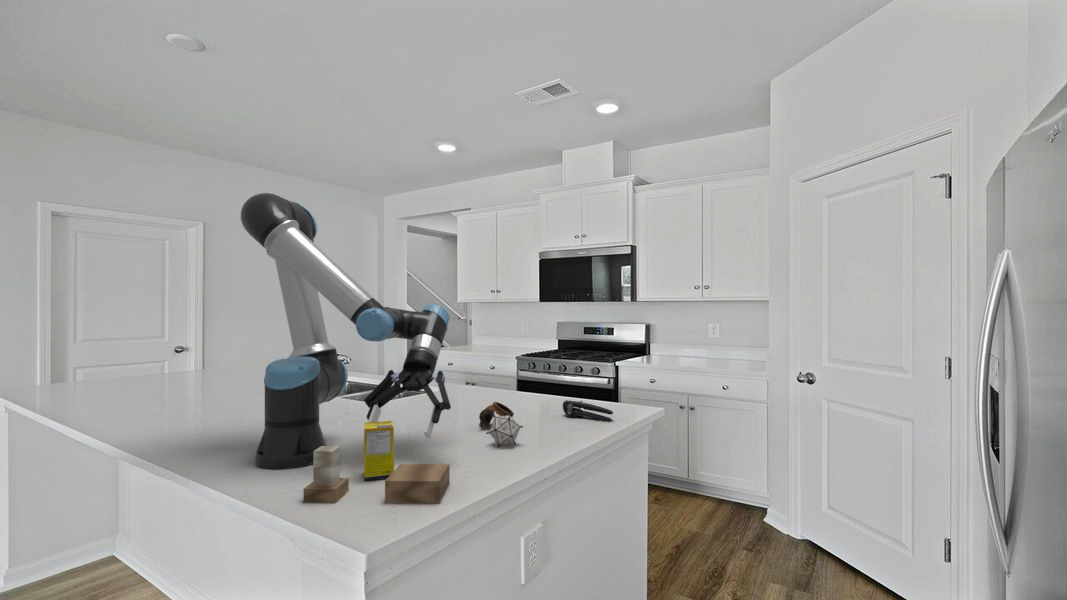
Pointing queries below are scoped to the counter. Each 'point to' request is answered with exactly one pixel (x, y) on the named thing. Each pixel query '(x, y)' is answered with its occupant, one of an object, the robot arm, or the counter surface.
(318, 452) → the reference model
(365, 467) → the supplement box
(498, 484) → the counter surface
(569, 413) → the can opener
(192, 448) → the counter surface
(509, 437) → the game die
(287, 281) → the robot arm
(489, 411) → the brown curved piece
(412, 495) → the plinth
